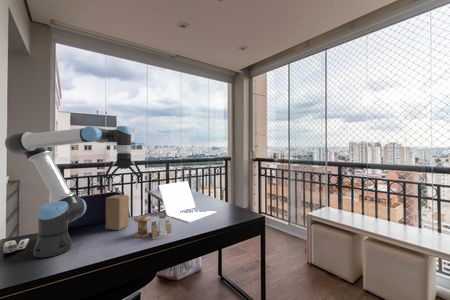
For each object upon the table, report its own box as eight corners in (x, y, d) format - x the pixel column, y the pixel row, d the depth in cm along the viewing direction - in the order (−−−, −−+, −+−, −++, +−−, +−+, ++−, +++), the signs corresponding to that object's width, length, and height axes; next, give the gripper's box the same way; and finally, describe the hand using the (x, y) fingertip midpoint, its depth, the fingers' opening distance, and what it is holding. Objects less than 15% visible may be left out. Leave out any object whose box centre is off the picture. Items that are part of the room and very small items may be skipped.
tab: (159, 236, 121) (159, 217, 121) (157, 230, 129) (157, 213, 129) (165, 235, 122) (165, 216, 122) (163, 230, 130) (163, 212, 131)
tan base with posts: (171, 236, 123) (171, 224, 123) (153, 239, 119) (153, 226, 119) (168, 230, 132) (168, 219, 133) (151, 233, 128) (151, 221, 128)
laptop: (189, 224, 145) (189, 189, 146) (158, 214, 167) (158, 185, 167) (217, 214, 169) (217, 184, 169) (187, 207, 190) (187, 181, 191)
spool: (134, 239, 120) (134, 221, 120) (134, 233, 128) (134, 216, 128) (151, 236, 123) (151, 218, 123) (150, 231, 131) (150, 214, 132)
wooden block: (119, 230, 132) (119, 198, 132) (104, 229, 134) (105, 197, 134) (129, 225, 142) (129, 195, 142) (116, 224, 144) (116, 194, 144)
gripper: (98, 152, 116) (98, 192, 116) (147, 152, 126) (147, 188, 126) (100, 152, 123) (99, 190, 123) (146, 152, 133) (146, 187, 133)
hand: (123, 189), depth 124 cm, fingers open, 13 cm apart
